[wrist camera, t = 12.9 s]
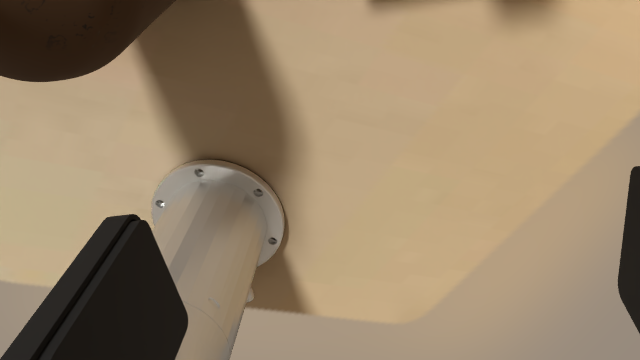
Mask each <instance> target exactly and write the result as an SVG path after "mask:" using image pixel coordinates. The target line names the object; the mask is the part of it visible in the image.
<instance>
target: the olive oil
mask: <svg viewBox="0 0 640 360" xmlns="http://www.w3.org/2000/svg"><path fill="white" fill-rule="evenodd" d="M174 1H176V0H0V76H3V77H7V78H11V79H16V80H21V81H29V82H50V81H59V80H66V79H71V78H76V77H79V76H83V75H86V74H89V73H91V72H93V71H96V70H98V69H100V68H101V67H103V66H105V65H106V64H108V63H109V62H111V61H112V60H113V59H115V58H116V57H117V56H118V55H119V54H121V53H122V52H123V51H124V50H125V49H126V48H127V47H128V46H129V45H130V44H131V43H132V42H133V41H134V40H135V39H136V38H137V37H138V36H139V35H140V34H141V33H142V32H143V31H144V30H145V29H146V28H147V27H148V26H149V25H150V24H151V23H152V22H153V21H154V20H155V19H156V18H157V17H158V16H159V15H160V14H162V13H163V12H164V11H165V10H166V9H167V8H168V7H169V6H170V5H171V4H172V3H173V2H174Z"/></svg>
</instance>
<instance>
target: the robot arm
mask: <svg viewBox="0 0 640 360" xmlns="http://www.w3.org/2000/svg"><path fill="white" fill-rule="evenodd" d="M151 214H152V218H153V223H154V226H155V227H154V228H153V230H152V231H151V228H150V226H149V224H148V223H147V222H146V221H145V220H141V219H140V218H139V217H138V216H137V215H134V214H130V215H121V216H112V217H107V218H106V219H105V220H104V221H103V222H102V223H101V225H100V226H99V227H98V229H97V230H96V231H95V233H94V234H93V235H92V237H91V238H90V239H89V241H88V242H87V243H86V245H85V246H84V247H83V249H82V250H81V251H80V253H79V254H78V255H77V257H76V258H75V260H74V261H73V262H72V264H71V265H70V266H69V268H68V269H67V270H66V272H65V273H64V274H63V276H62V277H61V278H60V280H59V281H58V282H57V284H56V285H55V286H54V288H53V289H52V290H51V292H50V293H49V294H48V296H47V297H46V298H45V300H44V301H43V303H42V304H41V305H40V306H39V308H38V309H37V310H36V312H35V313H34V314H33V316H32V317H31V319H30V320H29V321H28V323H27V324H26V325H25V327H24V328H23V329H22V331H21V332H20V333H19V335H18V336H17V337H16V339H15V340H14V341H13V343H12V344H11V345H10V347H9V348H8V350H7V351H6V352H5V354H4V355H3V356H2V357H1V359H0V360H229V359H230V355H231V352H232V349H233V346H234V342H235V339H236V336H237V332H238V329H239V325H240V322H241V318H242V315H243V312H244V309H245V305H246V303H247V302H250V301H252V300H253V299H254V292H253V289H252V286H251V285H252V281H253V278H254V275H255V271H256V268H257V267H259V266H260V265H262V264H263V263H265V262H266V261H268V260H269V259H270V258H271V257H272V256H273V255H274V254H275V252H276V251H277V249H278V248H279V246H280V243H281V240H282V237H283V233H284V228H285V219H284V213H283V209H282V205H281V203H280V201H279V199H278V197H277V196H276V194H275V193H274V191H273V190H272V189H271V188H270V186H269V185H268V184H267V183H266V182H264V181H263V180H262V179H261V178H260V177H259V176H257V175H256V174H254V173H253V172H251V171H249V170H248V169H246V168H243V167H241V166H239V165H236V164H233V163H229V162H225V161H220V160H197V161H193V162H189V163H186V164H183V165H181V166H179V167H177V168H175V169H174V170H172V171H171V172H170V173H169V174H168V175H166V176H165V178H164V179H163V180H162V182H161V183H160V184H159V186H158V188H157V190H156V191H155V193H154V196H153V199H152V211H151ZM618 288H619V294H620V297H621V299H622V301H623V303H624V305H625V307H626V309H627V311H628V313H629V314H630V316H631V318H632V320H633V322H634V324H635V326H636V327H637V329H638V331H639V333H640V166H636V167H634V168H633V169H632V171H631V175H630V183H629V191H628V199H627V208H626V216H625V225H624V233H623V242H622V250H621V258H620V266H619V275H618Z"/></svg>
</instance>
